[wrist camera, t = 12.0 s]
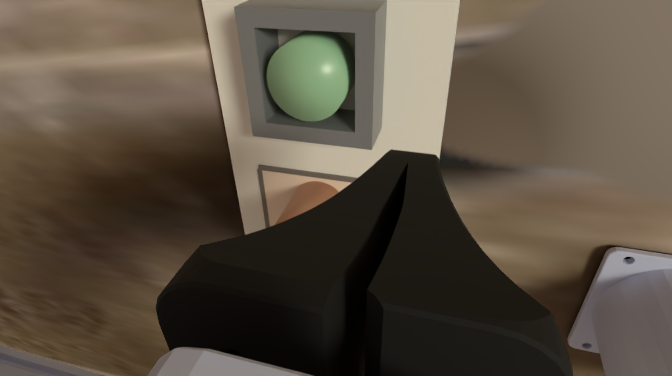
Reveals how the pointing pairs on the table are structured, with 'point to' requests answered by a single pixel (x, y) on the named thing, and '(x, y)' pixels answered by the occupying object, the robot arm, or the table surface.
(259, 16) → the button housing
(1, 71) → the table surface
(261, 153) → the white flat panel
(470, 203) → the table surface
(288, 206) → the brown rounded cylinder
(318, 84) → the button
